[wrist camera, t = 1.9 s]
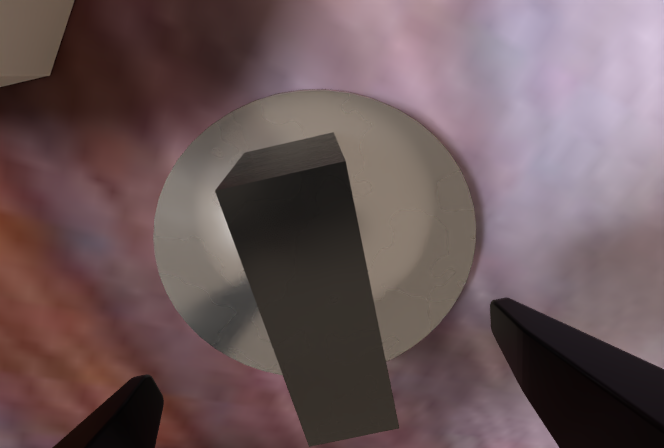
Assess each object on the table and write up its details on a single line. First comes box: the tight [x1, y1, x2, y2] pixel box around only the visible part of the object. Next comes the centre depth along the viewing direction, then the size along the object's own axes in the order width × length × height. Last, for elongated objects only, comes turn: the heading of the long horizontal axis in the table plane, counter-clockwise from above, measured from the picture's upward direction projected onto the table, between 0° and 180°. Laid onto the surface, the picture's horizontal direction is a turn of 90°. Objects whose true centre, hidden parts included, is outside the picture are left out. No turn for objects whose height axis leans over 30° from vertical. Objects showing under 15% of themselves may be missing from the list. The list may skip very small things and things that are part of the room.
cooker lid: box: [153, 89, 476, 447], centre depth 12 cm, size 12×12×5 cm
